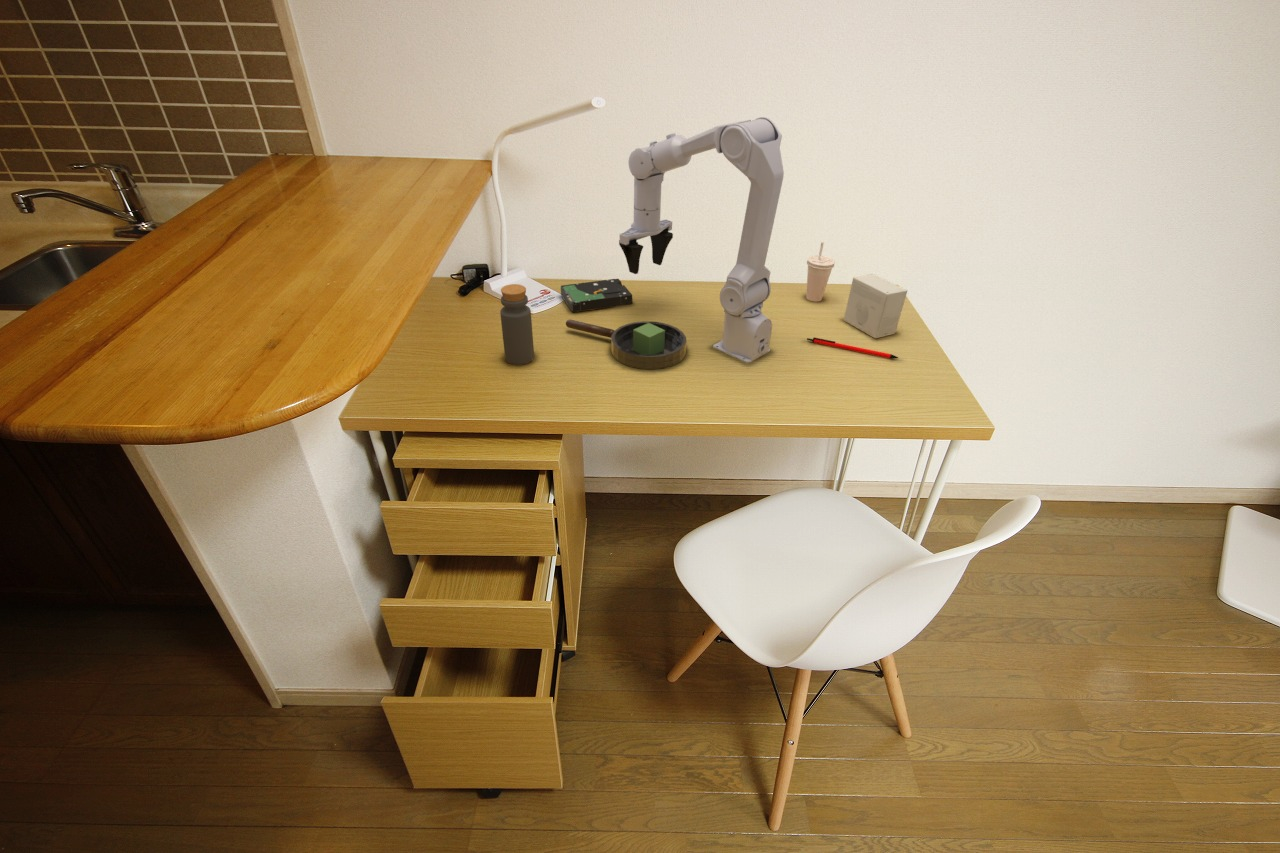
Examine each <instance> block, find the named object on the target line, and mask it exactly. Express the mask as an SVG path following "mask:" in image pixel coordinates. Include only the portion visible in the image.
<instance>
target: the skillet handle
mask: <svg viewBox="0 0 1280 853" xmlns="http://www.w3.org/2000/svg"><path fill="white" fill-rule="evenodd" d="M565 326H566V327H567V328H568V329H572V330H577V331H581V332H584V333H587V334H588V333H589V334H594V335H597V336H601V337H606V338H610V339H611V336H612V334H613V332H614V331H615V330H614V329H612V328H608V327H603V326H600V325H597V324H596V325H595V324H591V323H587V322H582V321H580V320H579V321H578V320H576V319H575V320H574V319H567V320H566V321H565Z"/></svg>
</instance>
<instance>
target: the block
mask: <svg viewBox="0 0 1280 853" xmlns="http://www.w3.org/2000/svg"><path fill="white" fill-rule="evenodd" d="M664 339H665V330H663V329H661V328H659V327H657V326H655V325H653V324H650V323H647V324H645V325H643V326H641V327H638V328H636V329H634V330H633V350H634V351H636V352H638V353H640V354H642V355H656V354H658V353H660V352H662V351H664Z"/></svg>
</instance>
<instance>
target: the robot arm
mask: <svg viewBox="0 0 1280 853" xmlns="http://www.w3.org/2000/svg"><path fill="white" fill-rule="evenodd" d="M665 138H666V139H663V140H661V141H660V140H659V141H657V140H655V141H651V142H650V143H649V146H646V147H641V148H640V147H637V148H635V149H634V150H633V151H631V153H630V154H629V157H628V169H629V171H630V174H631V175H632V176H633V222H632V223H631V224H630V228H628V229H627V230H625V231H624V232H622V233H619V240H618V245H619V247H620V248H621V250H622V253H623V254H624V257H625V260H626V263H627V267H628V272H629V273H631V274H633V275H637V274H639V270H640V259H641V255H642V252H643V249H644V245H642V244H639V242H638V241H639V240H641V239H645V238H647V237H650V238H649V239H650V243H651V250H652V251H651V260H652V263H653V264H655V265H657V266H662V265H663V264H662V263H663V261H664V257H665V255H666V252H667V249H668V247H669V244H670V242H672V240H673V238H674V233H673V232H670V231H672V230H673V221H672V220H669V219H662V220H661V210H662V208H661V206H662V205H661V204H662V184H663V182H664V178H665V177H664V176H665V173H667V172H669V171H672V170H675V169H679V168H681V167H685V166H688V164H689V163H690V162H691V160H692V156H694V155H698V154H701V153H705V152H708V151H712V150H714V149H715V150H716V152H717V154H722V155H723V157H724V158H725V159H726V160H727V162H730V163H731V164H732V165H733V166H734V167H735V168H736V169H738V171H739V172H741V174H743V175H744V176H745V177H747V179H748V181H749V182H750V186H749V193H748V198H747V202H746V209H745V213H744V220H743V225H742V231H741V236H740V242H739V247H738V251H737V258H736V261H735V262H736V263H735V264H734V266H733V268H731V270H730V271H729V273H728V274H727V276H726V281H725V284H724V285H723V287H722V288H721V290H720V293H719V302H720V305H721V307H722V309H723V312H724V321H723V330H722V336H721V337H722V338H721V340H720V341H718V342H717V343H714V344H713V345H712V348H713V349H715V350H717V351H720V352H721V353H724V354H726V355H728V356H730V357H733V358H735V359H737V360H739V361H741V362H744V363H746V364H750V363H752V362H753V361H755V360H757V359H759V358H761V357H763V356H764V355H766V354H768V353H769V352H771V348H770V342H771V337H772V336H771V335H772V329H773V323H772V319H770V318H769V317H768V316H766V315H765V314H764V313H763V312H762V308H763V307H764V302H765V301H767V300H768V299H769V297H770V296H771V293H772V292H771V291H772V290H771V289H772V287H771V282H770V276H771V271H770V270H769V268H767V267H766V266H765V265H766V261H767V257H768V252H769V247H770V242H771V236H772V232H773V227H774V223H775V218H776V214H777V208H778V204H779V199H780V195H781V190H782V185H783V180H784V174H785V173H784V172H785V171H784V165H783V160H782V155H781V154H782V153H781V144H782V138H783V135H782V133H781V132H780V130H779V128H778V126H777V125H776V124H775V122H773V120H772V119H770V118H769V117H764V116H761V117H758V118H755V119H754V120H753V119H752V120H751V119H747V120H741V121H735V122H729V123H724V124H721V125H716V126H714V127H712V128H709V129H706V130H705V131H702V132H700V133H698V134H695V135H692V136H691V137H688V138H687V137H685V136H684V135H682V134H676V133H675V132H673V133H669V134H667V135H666V136H665Z"/></svg>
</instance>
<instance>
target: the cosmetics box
mask: <svg viewBox="0 0 1280 853" xmlns="http://www.w3.org/2000/svg"><path fill="white" fill-rule="evenodd" d="M907 294H908V289H905V288H904V287H901V286H899V285H898V284H895V283H893V282H891V281H889V280H886V279H884V278H882V277H880V276H879V275H877V274H875V273H869V274H864V275H858V276H854V277H852V281H851V286H850V290H849V294H848V299H847V303H846V308H845V312H844V316H843V321H844V322H846V323H847V324H849V325H851V326H852V327H854V328H856V329H858V330H859V331H861V332H863V333H865V334H867V335H868V336H870V337H872V338H874V339H878V338H879V339H880V338H883V337H887V336H891V335H895V334H896V332H897V329H898V326H899V321H900V318H901V315H902V311H903V308H904V304H905V300H906V298H907Z"/></svg>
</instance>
